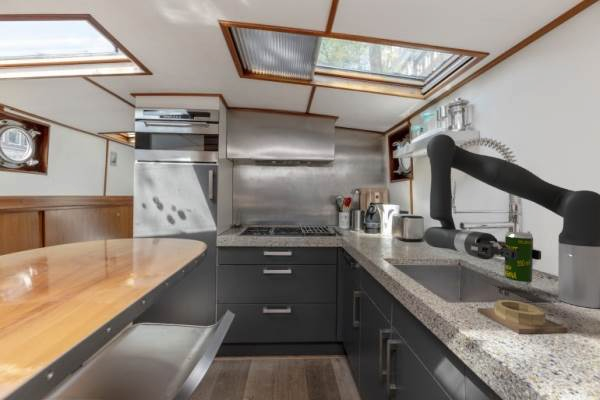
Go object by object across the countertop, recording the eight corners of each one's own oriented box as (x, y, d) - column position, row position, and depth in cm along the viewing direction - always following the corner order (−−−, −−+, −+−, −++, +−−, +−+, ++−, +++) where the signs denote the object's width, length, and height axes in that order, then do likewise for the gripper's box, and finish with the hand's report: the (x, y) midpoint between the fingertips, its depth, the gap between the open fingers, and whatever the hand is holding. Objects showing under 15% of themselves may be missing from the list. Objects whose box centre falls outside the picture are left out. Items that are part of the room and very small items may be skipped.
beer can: (518, 278, 70) (519, 231, 70) (538, 285, 65) (539, 234, 65) (498, 278, 70) (499, 231, 70) (517, 285, 64) (518, 233, 64)
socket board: (518, 311, 73) (518, 298, 73) (567, 331, 61) (567, 316, 62) (477, 312, 72) (477, 298, 72) (518, 333, 60) (519, 317, 60)
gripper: (452, 230, 81) (501, 238, 64) (497, 231, 82) (556, 239, 65) (452, 256, 81) (500, 271, 64) (496, 256, 82) (555, 271, 65)
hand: (528, 255), depth 65 cm, fingers closed on beer can, 5 cm apart
